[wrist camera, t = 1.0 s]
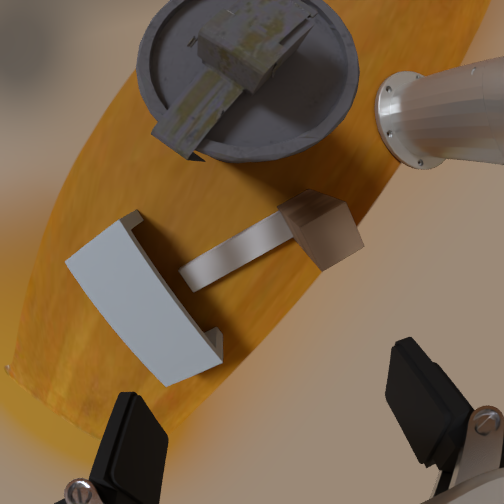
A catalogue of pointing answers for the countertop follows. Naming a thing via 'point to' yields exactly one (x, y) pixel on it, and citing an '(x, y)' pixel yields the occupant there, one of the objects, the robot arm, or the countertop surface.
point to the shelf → (143, 305)
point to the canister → (246, 76)
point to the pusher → (283, 238)
